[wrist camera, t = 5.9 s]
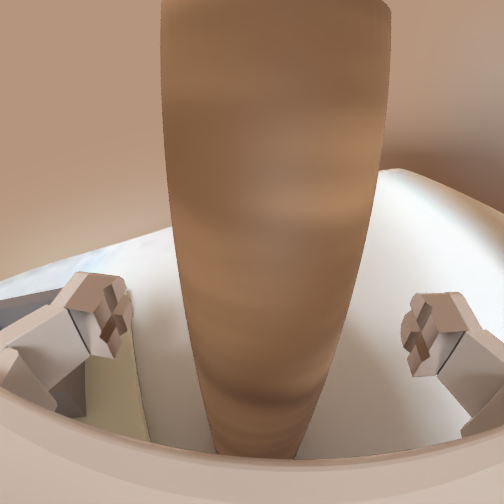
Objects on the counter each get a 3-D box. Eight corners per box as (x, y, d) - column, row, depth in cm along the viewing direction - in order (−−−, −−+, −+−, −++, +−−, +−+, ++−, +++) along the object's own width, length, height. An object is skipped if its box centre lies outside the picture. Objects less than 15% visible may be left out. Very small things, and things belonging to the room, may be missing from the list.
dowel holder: (128, 299, 21) (117, 260, 19) (152, 449, 12) (130, 420, 10) (-17, 325, 17) (-36, 292, 15) (-44, 453, 7) (-80, 423, 6)
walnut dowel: (277, 399, 15) (312, 31, 6) (311, 460, 12) (438, 23, 3) (205, 421, 14) (153, 23, 5) (231, 488, 10) (181, -44, 2)
